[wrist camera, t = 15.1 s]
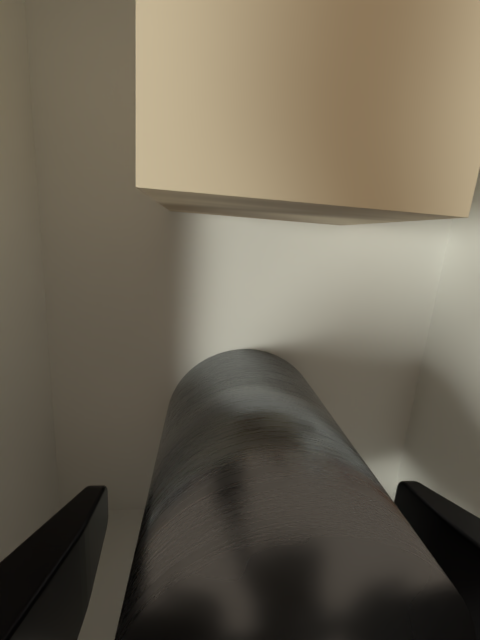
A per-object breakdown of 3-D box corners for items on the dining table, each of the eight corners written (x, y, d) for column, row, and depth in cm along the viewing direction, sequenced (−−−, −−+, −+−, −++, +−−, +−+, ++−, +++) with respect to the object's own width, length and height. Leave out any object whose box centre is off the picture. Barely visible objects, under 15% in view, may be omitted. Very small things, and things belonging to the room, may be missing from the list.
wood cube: (170, 211, 9) (135, 186, 5) (175, -3, 8) (135, -338, 3) (340, 225, 10) (468, 217, 5) (368, 28, 9) (567, -220, 4)
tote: (-20, -123, 8) (-396, -721, 3) (525, -23, 9) (868, -294, 5) (38, 524, 12) (-74, 718, 7) (403, 514, 14) (512, 666, 9)
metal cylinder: (164, 485, 11) (105, 837, 5) (167, 346, 10) (96, 542, 4) (306, 484, 12) (437, 798, 5) (324, 351, 11) (516, 531, 4)
